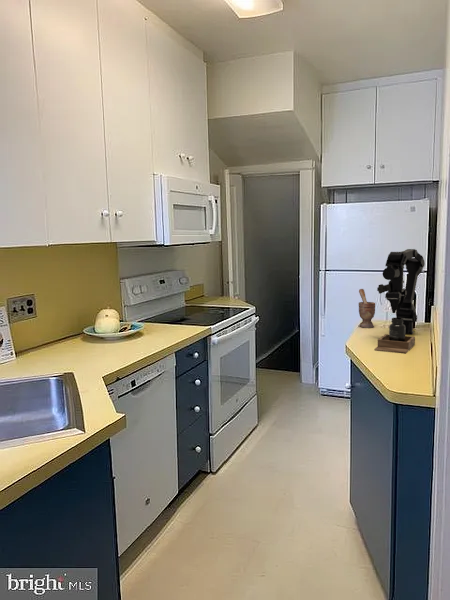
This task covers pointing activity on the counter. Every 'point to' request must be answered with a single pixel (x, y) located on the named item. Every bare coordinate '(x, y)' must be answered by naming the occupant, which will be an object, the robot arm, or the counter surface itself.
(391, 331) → the supplement bottle
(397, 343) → the walnut tray
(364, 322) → the mortar and pestle
